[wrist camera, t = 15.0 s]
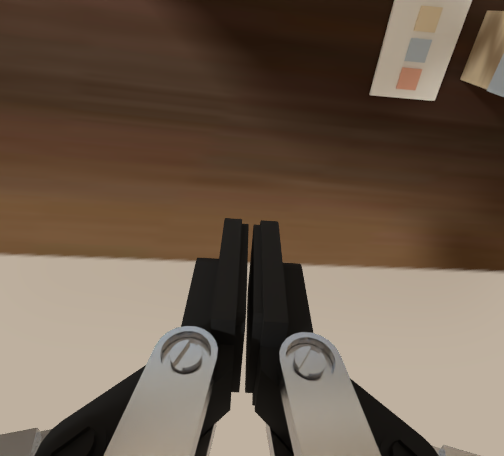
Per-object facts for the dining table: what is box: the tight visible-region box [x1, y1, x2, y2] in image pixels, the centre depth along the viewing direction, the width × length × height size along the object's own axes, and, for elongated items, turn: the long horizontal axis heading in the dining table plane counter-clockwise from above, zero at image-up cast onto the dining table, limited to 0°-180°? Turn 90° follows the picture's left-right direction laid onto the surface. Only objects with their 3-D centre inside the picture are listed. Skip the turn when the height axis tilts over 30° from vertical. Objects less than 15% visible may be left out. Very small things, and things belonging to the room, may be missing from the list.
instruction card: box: [369, 0, 472, 101], centre depth 33 cm, size 9×7×1 cm
